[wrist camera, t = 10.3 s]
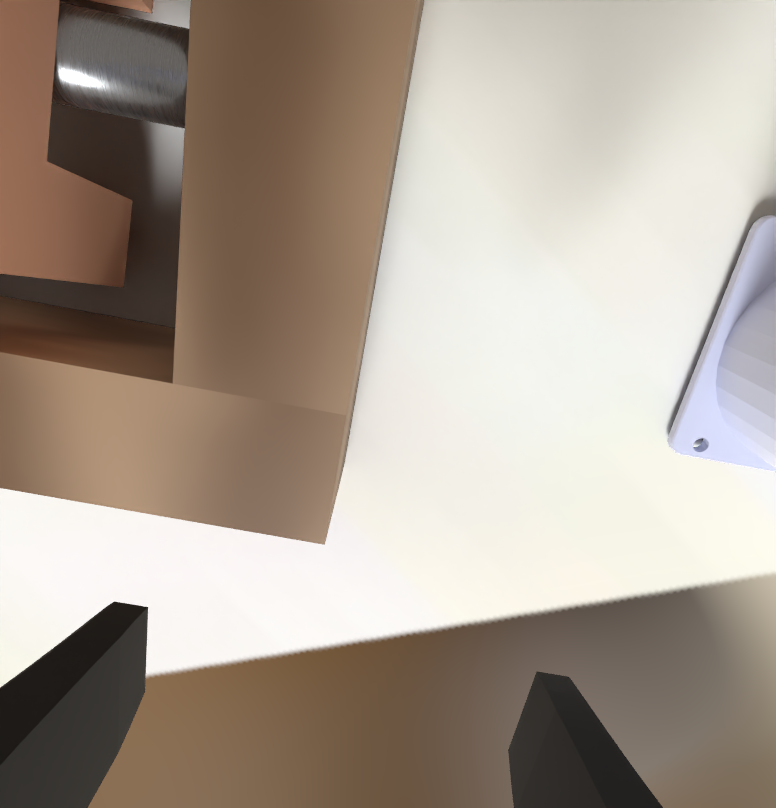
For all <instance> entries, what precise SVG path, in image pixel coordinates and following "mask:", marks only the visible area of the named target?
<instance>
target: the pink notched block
mask: <svg viewBox="0 0 776 808" xmlns="http://www.w3.org/2000/svg"><path fill="white" fill-rule="evenodd" d="M88 1H93V2H98V3H103V4H108V5H113V6H118V7H123V8H129V9H134V10H139V11H144V12H149V13H152V8H153V0H88ZM59 2H60V0H0V274H8V275H17V276H26V277H35V278H44V279H53V280H61V281H70V282H79V283H88V284H97V285H106V286H115V287H123V288H124V280H125V270H126V260H127V251H128V241H129V231H130V221H131V212H132V202H133V201H132V200H130V199H128V198H126V197H124V196H122V195H119V194H117V193H115V192H113V191H111V190H108V189H106V188H104V187H102V186H100V185H98V184H95V183H93V182H91V181H89V180H87V179H84V178H82V177H80V176H78V175H76V174H74V173H71V172H69V171H67V170H65V169H63V168H61V167H58V166H56V165H54V164H52V163H50V162H47V155H48V142H49V129H50V117H51V104H52V91H53V78H54V66H55V53H56V38H57V27H58V15H59Z"/></svg>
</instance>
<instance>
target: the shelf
mask: <svg viewBox="0 0 776 808" xmlns="http://www.w3.org/2000/svg"><path fill="white" fill-rule="evenodd" d="M423 4H424V0H191V8H190V29H187V28H182V27H177V26H172V25H167V24H163V23H158V22H153V21H148V20H143V19H138V18H133V17H128V16H123V15H118V14H113V13H108V12H103V11H99V10H94V9H89V8H84V7H79V6H74V5H69V4H64V3H59V15H58V27H57V38H56V53H55V66H54V78H53V91H52V102H53V103H58V104H63V105H68V106H73V107H78V108H83V109H88V110H93V111H98V112H103V113H109V114H114V115H119V116H124V117H129V118H134V119H139V120H144V121H149V122H154V123H159V124H164V125H169V126H174V127H180V128H185V135H184V156H183V177H182V198H181V219H180V240H179V261H178V282H177V303H176V325H175V328H171V327H165V326H160V325H155V324H149V323H144V322H138V321H133V320H128V319H122V318H117V317H112V316H106V315H101V314H95V313H90V312H85V311H79V310H74V309H68V308H63V307H58V306H52V305H47V304H42V303H36V302H31V301H25V300H20V299H15V298H9V297H4V296H0V488H4V489H10V490H15V491H21V492H27V493H33V494H38V495H44V496H50V497H55V498H61V499H67V500H73V501H78V502H84V503H90V504H95V505H101V506H107V507H113V508H118V509H124V510H130V511H136V512H141V513H147V514H153V515H158V516H164V517H170V518H176V519H181V520H187V521H193V522H198V523H204V524H210V525H216V526H221V527H227V528H233V529H238V530H244V531H250V532H256V533H261V534H267V535H273V536H278V537H284V538H290V539H296V540H301V541H307V542H313V543H318V544H324V545H325V541H326V537H327V533H328V528H329V524H330V520H331V516H332V512H333V508H334V504H335V500H336V496H337V492H338V488H339V484H340V479H341V475H342V471H343V467H344V462H345V456H346V451H347V445H348V439H349V433H350V427H351V422H352V416H353V410H354V404H355V398H356V393H357V387H358V381H359V375H360V369H361V364H362V358H363V352H364V346H365V340H366V334H367V329H368V323H369V317H370V311H371V305H372V300H373V294H374V288H375V282H376V276H377V271H378V265H379V259H380V253H381V247H382V242H383V236H384V230H385V224H386V218H387V213H388V207H389V201H390V195H391V189H392V184H393V178H394V172H395V166H396V160H397V155H398V149H399V143H400V137H401V131H402V126H403V120H404V114H405V108H406V102H407V97H408V91H409V85H410V79H411V73H412V68H413V62H414V56H415V50H416V44H417V39H418V33H419V27H420V21H421V15H422V10H423Z"/></svg>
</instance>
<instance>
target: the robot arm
mask: <svg viewBox="0 0 776 808" xmlns="http://www.w3.org/2000/svg"><path fill="white" fill-rule="evenodd" d="M700 438H703V442H702V443H701V445H700V446H698V447H693V444H694V442H695V441H696V440H698V439H700ZM668 445H669V446H670V448H671V449H672V450H673V451H675V452H676V453H678V454H680V455H684V456H690V457H695V458H701V459H706V460H712V461H717V462H722V463H728V464H733V465H739V466H744V467H750V468H755V469H760V470H766V471H771V472H776V215H766V216H764V217H761V218H759V219H758V220H757V221H756V222H754V224H753V225H752V227H751V229H750V231H749V233H748V236H747V238H746V241H745V243H744V246H743V248H742V251H741V254H740V256H739V259H738V261H737V264H736V266H735V269H734V271H733V274H732V276H731V279H730V281H729V284H728V286H727V289H726V291H725V294H724V297H723V299H722V302H721V304H720V307H719V309H718V312H717V314H716V317H715V319H714V322H713V324H712V327H711V329H710V332H709V334H708V337H707V340H706V342H705V345H704V347H703V350H702V352H701V355H700V357H699V360H698V362H697V365H696V367H695V370H694V372H693V375H692V377H691V380H690V383H689V385H688V388H687V390H686V393H685V395H684V398H683V400H682V403H681V405H680V408H679V410H678V413H677V415H676V418H675V420H674V423H673V426H672V428H671V431H670V433H669V436H668ZM147 620H148V607H143V606H137V605H131V604H125V603H119V602H113V603H111V604H110V605H108V606H107V607H106V608H104V609H103V610H102V611H100V612H99V613H98V614H97V615H95V616H94V617H93V618H91V619H90V620H89V621H88V622H86V623H85V624H84V625H83V626H81V627H80V628H79V629H77V630H76V631H75V632H74V633H72V634H71V635H70V636H68V637H67V638H66V639H65V640H63V641H62V642H61V643H59V644H58V645H57V646H55V647H54V648H53V649H52V650H50V651H49V652H48V653H46V654H45V655H44V656H42V657H41V658H40V659H38V660H37V661H36V662H34V663H33V664H32V665H30V666H29V667H28V668H26V669H25V670H24V671H22V672H21V673H20V674H18V675H17V676H15V677H14V678H13V679H11V680H10V681H9V682H7V683H6V684H5V685H3V686H2V687H1V688H0V808H88V806H89V804H90V802H91V800H92V799H93V797H94V795H95V793H96V792H97V790H98V788H99V786H100V784H101V783H102V781H103V779H104V777H105V776H106V774H107V772H108V770H109V768H110V766H111V765H112V763H113V761H114V759H115V758H116V756H117V754H118V752H119V750H120V748H121V745H122V743H123V741H124V739H125V736H126V734H127V732H128V730H129V728H130V725H131V723H132V721H133V718H134V716H135V714H136V711H137V709H138V707H139V704H140V702H141V700H142V697H143V695H144V693H145V673H146V646H147ZM508 751H509V762H510V773H511V785H512V794H513V802H514V808H663V807H662V806H661V805H660V803H659V802H658V800H657V799H656V798H655V796H654V795H653V794H652V793H651V791H650V790H649V789H648V787H647V786H646V784H645V783H644V782H643V780H642V779H641V778H640V776H639V775H638V774H637V772H636V771H635V769H634V768H633V767H632V765H631V764H630V763H629V761H628V760H627V758H626V757H625V756H624V754H623V753H622V751H621V750H620V749H619V747H618V746H617V744H616V743H615V742H614V740H613V739H612V737H611V736H610V735H609V733H608V732H607V730H606V729H605V727H604V726H603V725H602V723H601V722H600V720H599V719H598V718H597V716H596V715H595V713H594V712H593V710H592V709H591V708H590V706H589V705H588V703H587V702H586V700H585V699H584V697H583V696H582V695H581V693H580V692H579V690H578V689H577V687H576V686H575V685H574V683H573V682H572V680H571V679H570V678H569V677H566V676H560V675H554V674H548V673H542V672H537V673H536V675H535V678H534V681H533V684H532V686H531V689H530V692H529V695H528V697H527V700H526V703H525V706H524V709H523V711H522V714H521V717H520V720H519V722H518V725H517V728H516V731H515V733H514V736H513V739H512V742H511V744H510V747H509V750H508Z"/></svg>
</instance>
